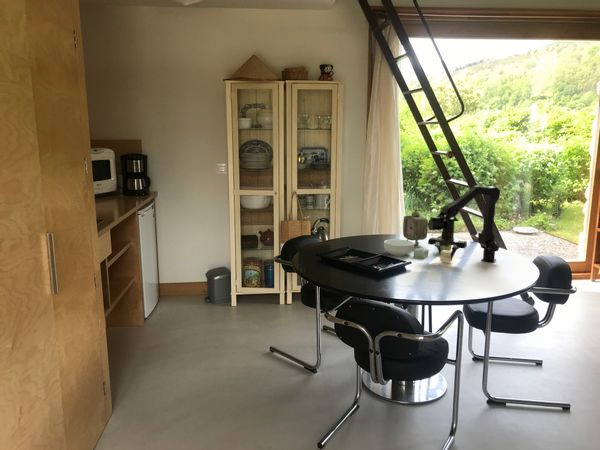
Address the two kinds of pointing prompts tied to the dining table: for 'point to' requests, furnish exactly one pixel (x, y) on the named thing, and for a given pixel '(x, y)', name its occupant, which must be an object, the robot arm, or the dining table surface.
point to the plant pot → (446, 246)
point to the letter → (449, 264)
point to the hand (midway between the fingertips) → (446, 258)
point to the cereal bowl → (398, 247)
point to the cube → (445, 256)
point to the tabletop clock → (415, 227)
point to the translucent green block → (420, 253)
